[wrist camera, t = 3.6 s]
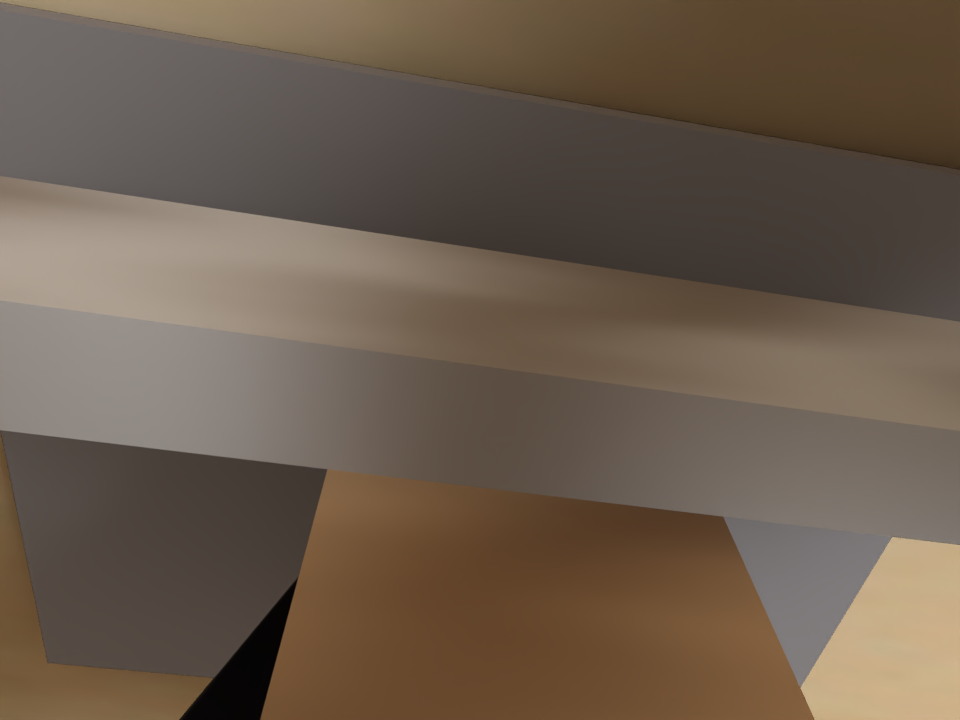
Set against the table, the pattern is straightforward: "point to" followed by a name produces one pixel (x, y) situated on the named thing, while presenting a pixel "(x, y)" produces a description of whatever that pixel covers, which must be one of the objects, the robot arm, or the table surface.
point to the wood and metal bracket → (486, 445)
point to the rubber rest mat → (425, 216)
